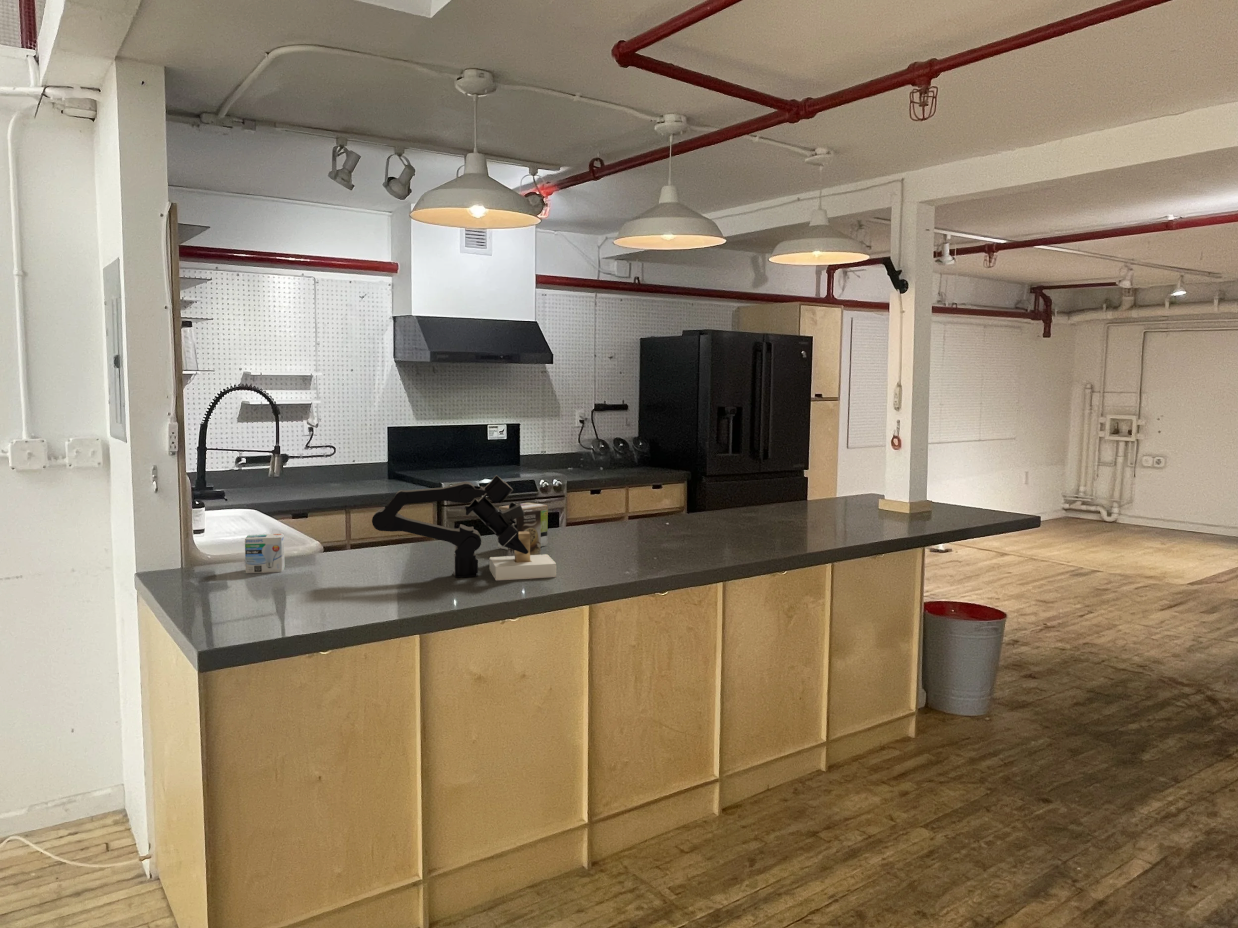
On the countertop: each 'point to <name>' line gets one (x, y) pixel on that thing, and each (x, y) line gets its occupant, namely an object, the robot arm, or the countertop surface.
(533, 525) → the coffee box
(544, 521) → the tea box
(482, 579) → the countertop surface
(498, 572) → the white flat block
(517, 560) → the tan wooden block
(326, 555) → the countertop surface
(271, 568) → the light bulb box
